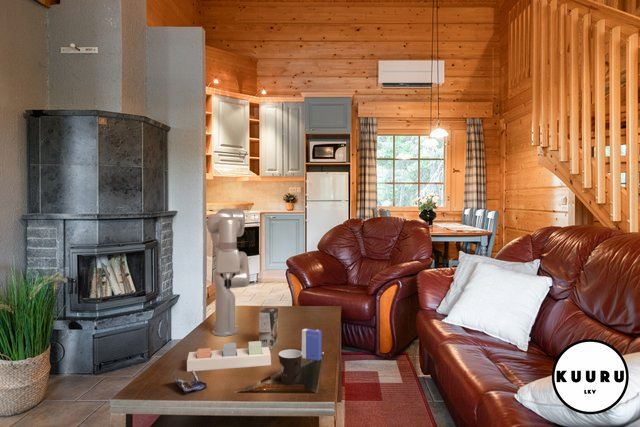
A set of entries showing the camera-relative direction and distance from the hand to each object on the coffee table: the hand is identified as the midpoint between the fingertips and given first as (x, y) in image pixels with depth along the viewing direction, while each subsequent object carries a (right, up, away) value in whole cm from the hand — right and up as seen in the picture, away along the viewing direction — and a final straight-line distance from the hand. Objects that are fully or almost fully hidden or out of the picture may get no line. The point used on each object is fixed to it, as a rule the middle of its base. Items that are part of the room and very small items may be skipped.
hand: (227, 288), depth 188 cm
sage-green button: (+14, -25, -13) cm, 31 cm away
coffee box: (+17, -27, +7) cm, 33 cm away
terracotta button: (-6, -27, -17) cm, 32 cm away
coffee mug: (+30, -29, -33) cm, 52 cm away
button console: (+4, -28, -15) cm, 32 cm away
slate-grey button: (+4, -25, -15) cm, 29 cm away
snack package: (-6, -29, -37) cm, 47 cm away
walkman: (+37, -28, -9) cm, 47 cm away
